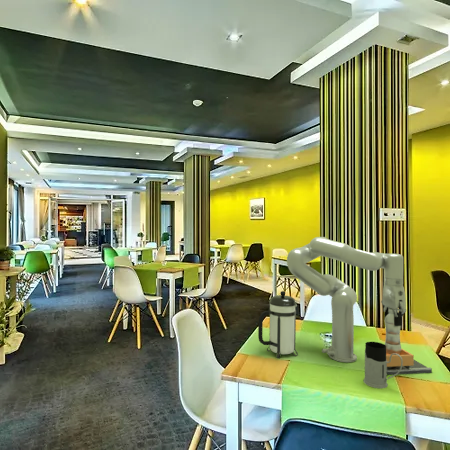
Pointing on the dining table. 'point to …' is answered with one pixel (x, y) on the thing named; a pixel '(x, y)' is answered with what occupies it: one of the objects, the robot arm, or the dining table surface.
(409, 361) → the orange open tray
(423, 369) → the grey flat slab
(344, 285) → the robot arm
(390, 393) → the dining table surface
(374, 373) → the grey mug
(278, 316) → the coffee press
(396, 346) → the plastic bottle
